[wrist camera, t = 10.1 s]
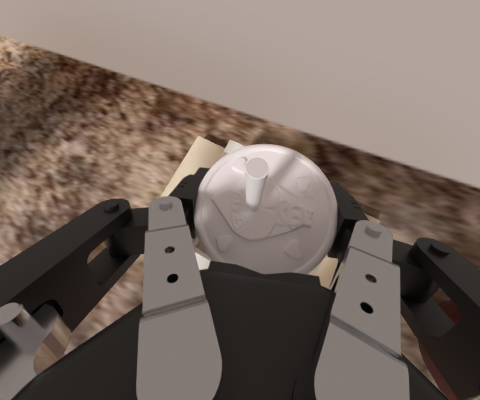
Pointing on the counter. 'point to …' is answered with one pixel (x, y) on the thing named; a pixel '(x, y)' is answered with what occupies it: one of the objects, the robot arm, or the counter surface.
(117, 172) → the counter surface
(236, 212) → the smoothie
